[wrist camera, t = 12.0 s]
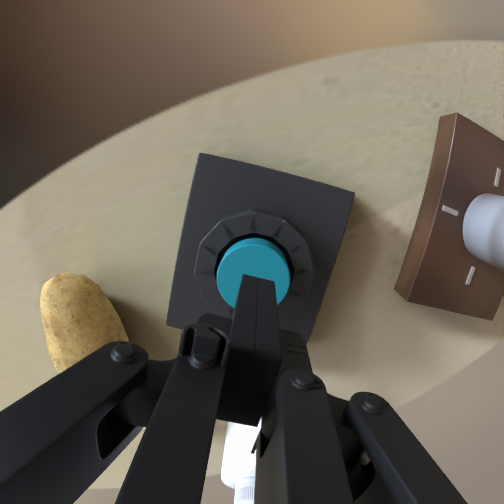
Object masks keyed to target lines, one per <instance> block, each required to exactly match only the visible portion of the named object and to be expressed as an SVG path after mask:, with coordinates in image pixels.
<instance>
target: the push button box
mask: <svg viewBox="0 0 504 504" xmlns="http://www.w3.org/2000/svg"><path fill="white" fill-rule="evenodd" d="M354 196H355V193H354V192H351V191H348V190H345V189H341V188H338V187H335V186H331V185H328V184H324V183H321V182H318V181H314V180H310V179H307V178H303V177H300V176H296V175H292V174H289V173H285V172H281V171H277V170H273V169H269V168H265V167H261V166H257V165H253V164H249V163H245V162H241V161H236V160H232V159H227V158H223V157H218V156H214V155H209V154H204V153H199V155H198V159H197V164H196V168H195V172H194V177H193V181H192V185H191V190H190V194H189V199H188V204H187V209H186V213H185V218H184V223H183V228H182V233H181V238H180V244H179V249H178V254H177V260H176V265H175V271H174V277H173V283H172V289H171V295H170V301H169V308H168V314H167V321H166V325H168V326H172V327H175V328H179V329H184V328H185V327H186V326H187V325H190V324H196V323H197V320H198V318H199V317H200V316H202V315H203V314H205V313H211V314H215V315H219V316H223V317H227V318H231V319H232V315H233V311H234V308H233V307H232V306H230V305H229V304H228V303H227V302H226V301H225V300H224V299H223V297H222V296H221V294H220V292H219V289H218V286H217V271H218V267H219V265H220V263H221V261H222V258H223V256H224V254H225V253H226V251H227V250H228V249H229V248H230V247H231V246H232V245H233V244H235V243H236V242H238V241H240V240H243V239H247V238H261V239H265V240H268V241H270V242H272V243H273V244H275V245H276V246H277V247H278V248H279V249H280V250H281V251H282V253H283V254H284V256H285V258H286V261H287V264H288V268H289V272H290V286H289V290H288V292H287V294H286V296H285V298H284V299H283V300H282V301H281V302H280V303H279V304H278V305H277V308H278V318H279V328H280V329H283V330H288V331H292V332H297V333H299V334H300V335H301V336H302V337H303V339H304V340H305V342H306V344H307V342H308V339H309V336H310V334H311V331H312V328H313V325H314V323H315V320H316V317H317V314H318V311H319V309H320V306H321V303H322V300H323V297H324V294H325V291H326V288H327V285H328V282H329V279H330V276H331V273H332V270H333V267H334V264H335V261H336V257H337V254H338V251H339V248H340V244H341V241H342V238H343V235H344V231H345V228H346V224H347V221H348V217H349V214H350V210H351V207H352V203H353V200H354Z"/></svg>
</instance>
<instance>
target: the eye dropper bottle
mask: <svg viewBox="0 0 504 504" xmlns="http://www.w3.org/2000/svg"><path fill="white" fill-rule="evenodd" d="M260 429H261V419H260V421H259V424H258V427H254V426H248V425H243V424H238V423H233V422H228V425H227V432H226V439H225V447H224V454H223V462H222V471H221V479H222V481H223V483H224V484H226V485H227V486H229V487H231V488H233V489H235V499H234V504H254V492H255V468H256V450H255V453H254V454H252V453H251V450H252V448H253V445H254V443H255V441H256V438H257V436H258V433H259V431H260Z"/></svg>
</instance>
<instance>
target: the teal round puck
mask: <svg viewBox="0 0 504 504" xmlns="http://www.w3.org/2000/svg"><path fill="white" fill-rule="evenodd" d="M243 274H247V275H251V276H255V277H259V278H263V279H267V280H271V281H275V289H276V298H277V305H278V304H279V303H280V302H281V301H282V300H283V299H284V298H285V296H286V294H287V292H288V290H289V286H290V272H289V268H288V264H287V261H286V258H285V256H284V254H283V253H282V251H281V250H280V249H279V248H278V247H277V246H276V245H275V244H273V243H272V242H270V241H268V240H265V239H261V238H247V239H243V240H240V241H238V242H236V243H235V244H233V245H232V246H231V247H230V248H229V249H228V250H227V251H226V253H225V254H224V256H223V258H222V261H221V263H220V265H219V267H218V271H217V286H218V289H219V292H220V294H221V296H222V297H223V299H224V300H225V301H226V302H227V303H228V304H229V305H230V306H232V307H233V308H234V307H235V303H236V299H237V295H238V291H239V287H240V283H241V279H242V275H243Z"/></svg>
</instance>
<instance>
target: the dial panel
mask: <svg viewBox="0 0 504 504" xmlns="http://www.w3.org/2000/svg"><path fill="white" fill-rule="evenodd" d="M485 193H490V194H496V195H501V196H504V141H503V140H501V139H500V138H498V137H497V136H495V135H494V134H492V133H490V132H489V131H487V130H486V129H484V128H482V127H481V126H479V125H478V124H476V123H474V122H472V121H471V120H469V119H467V118H466V117H464V116H462V115H460V114H458V113H454V114H450V115H445V116H442V117H440V121H439V127H438V133H437V138H436V143H435V148H434V153H433V158H432V163H431V167H430V172H429V176H428V180H427V184H426V188H425V192H424V196H423V200H422V204H421V207H420V211H419V215H418V218H417V222H416V225H415V228H414V232H413V235H412V238H411V241H410V244H409V248H408V251H407V254H406V257H405V260H404V263H403V266H402V268H401V271H400V274H399V277H398V280H397V282H396V285H395V288H394V289H395V290H396V291H397V292H398V293H399V294H400V295H401V296H402V297H403V298H404V299H405V300H406V301H408V302H412V303H417V304H421V305H425V306H430V307H434V308H439V309H443V310H447V311H452V312H456V313H461V314H465V315H470V316H474V317H479V318H483V319H488V320H493V318H494V316H495V314H496V311H497V309H498V307H499V304H500V302H501V299H502V297H503V294H504V272H503V271H501V270H499V269H497V268H495V267H493V266H491V265H489V264H487V263H485V262H483V261H481V260H479V259H477V258H475V257H473V256H472V255H471V254H470V253H469V251H468V250H467V248H466V246H465V243H464V239H463V220H464V216H465V213H466V211H467V208H468V207H469V205H470V203H471V202H472V201H473V200H474V199H475V198H476V197H477V196H479V195H481V194H485Z"/></svg>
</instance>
